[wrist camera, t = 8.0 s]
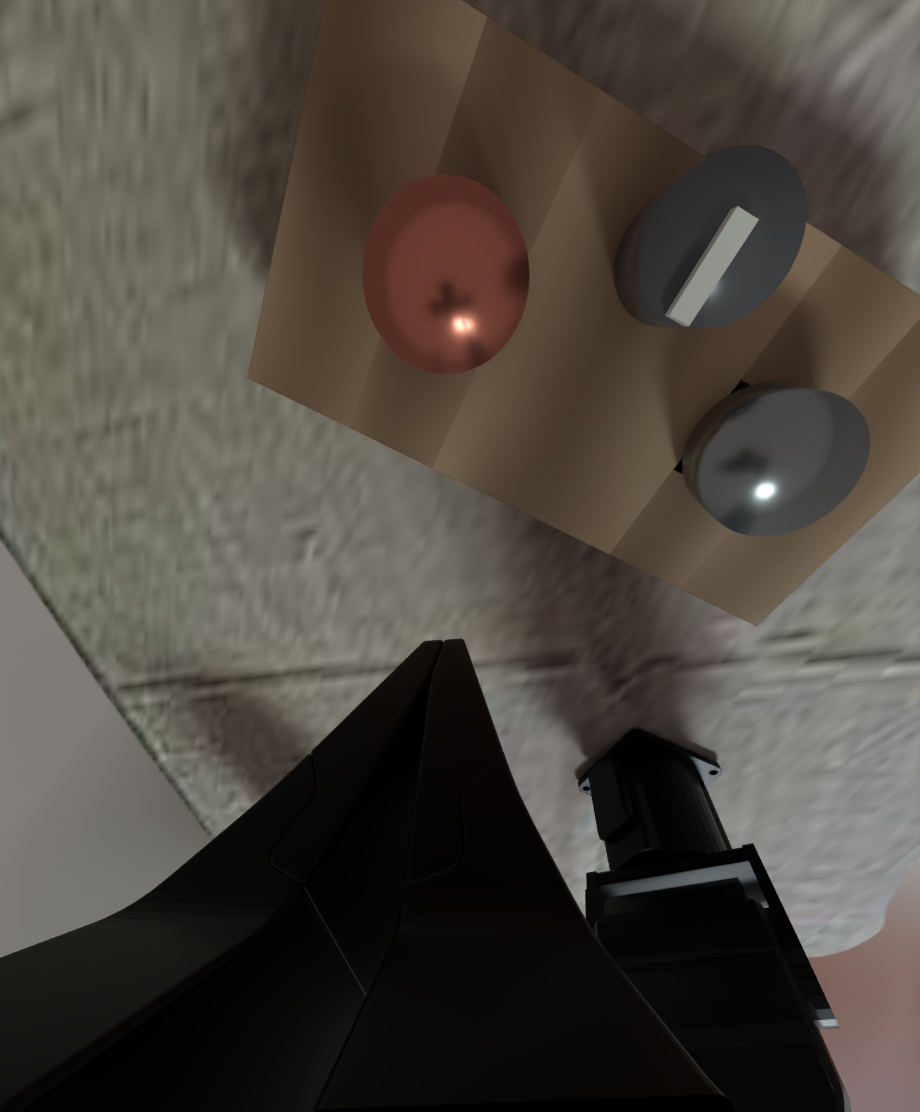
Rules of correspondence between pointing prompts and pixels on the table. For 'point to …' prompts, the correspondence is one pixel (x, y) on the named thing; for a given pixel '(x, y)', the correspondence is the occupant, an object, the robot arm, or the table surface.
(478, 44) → the mount
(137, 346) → the table surface
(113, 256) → the table surface
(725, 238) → the dial
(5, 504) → the table surface
